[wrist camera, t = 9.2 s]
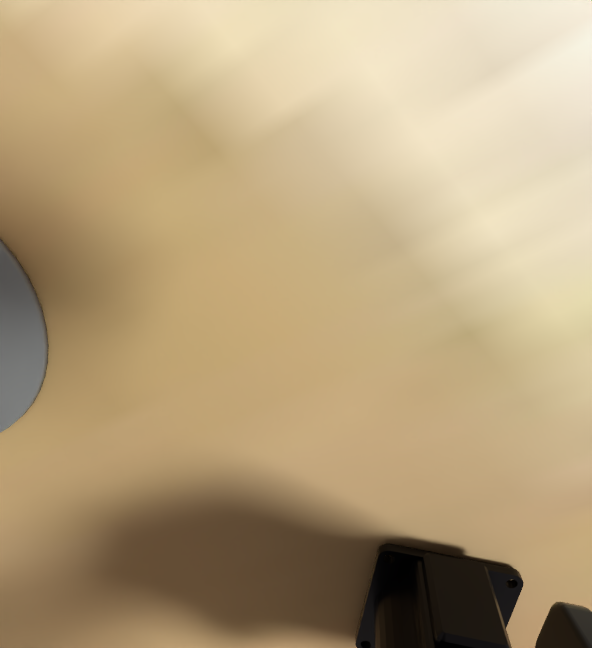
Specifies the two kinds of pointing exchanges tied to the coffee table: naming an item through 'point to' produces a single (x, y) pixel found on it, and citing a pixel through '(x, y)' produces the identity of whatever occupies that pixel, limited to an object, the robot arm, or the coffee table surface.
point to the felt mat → (19, 341)
